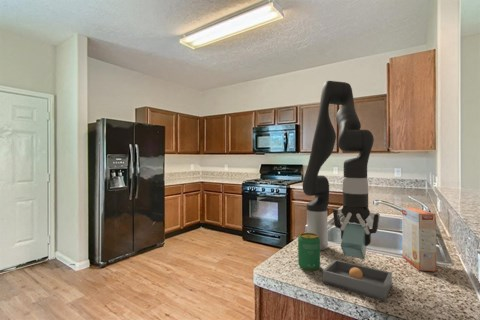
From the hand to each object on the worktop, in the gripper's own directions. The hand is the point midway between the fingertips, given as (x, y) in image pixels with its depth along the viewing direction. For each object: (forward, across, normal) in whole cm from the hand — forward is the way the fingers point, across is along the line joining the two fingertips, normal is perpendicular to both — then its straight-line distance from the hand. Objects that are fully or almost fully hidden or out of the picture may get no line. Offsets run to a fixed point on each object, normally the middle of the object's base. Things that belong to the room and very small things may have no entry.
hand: (355, 243), depth 82 cm
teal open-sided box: (+2, 0, +4) cm, 5 cm away
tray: (+13, 0, 0) cm, 13 cm away
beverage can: (+14, +17, -4) cm, 23 cm away
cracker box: (+14, -16, -31) cm, 37 cm away
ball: (+10, 0, -1) cm, 10 cm away
